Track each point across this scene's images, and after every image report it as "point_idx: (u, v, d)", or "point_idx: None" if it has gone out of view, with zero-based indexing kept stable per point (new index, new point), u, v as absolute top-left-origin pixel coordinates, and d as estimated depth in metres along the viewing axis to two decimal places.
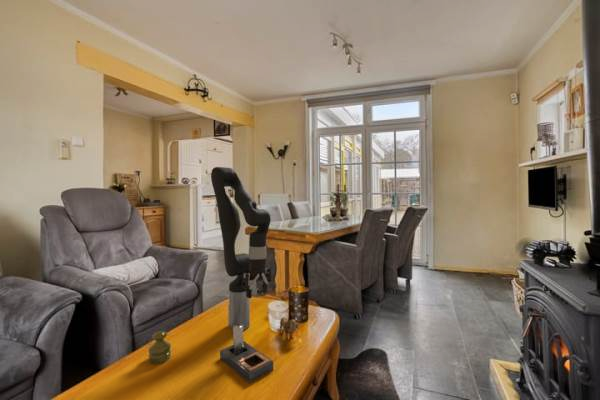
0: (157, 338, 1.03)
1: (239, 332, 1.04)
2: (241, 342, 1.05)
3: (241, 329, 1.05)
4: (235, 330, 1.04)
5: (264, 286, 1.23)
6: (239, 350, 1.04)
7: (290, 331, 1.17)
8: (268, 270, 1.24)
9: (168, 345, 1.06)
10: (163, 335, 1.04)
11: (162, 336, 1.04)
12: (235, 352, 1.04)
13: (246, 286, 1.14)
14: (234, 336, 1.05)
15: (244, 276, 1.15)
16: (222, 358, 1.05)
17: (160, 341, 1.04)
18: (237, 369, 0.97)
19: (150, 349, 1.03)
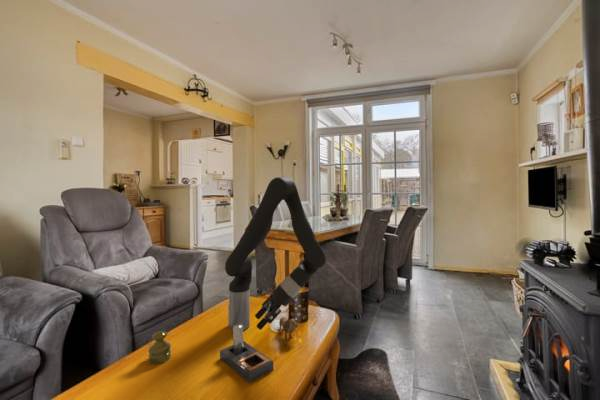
0: (157, 338, 1.03)
1: (239, 332, 1.04)
2: (241, 342, 1.05)
3: (241, 329, 1.05)
4: (235, 330, 1.04)
5: (262, 313, 1.12)
6: (239, 350, 1.04)
7: (289, 330, 1.17)
8: None
9: (168, 345, 1.06)
10: (163, 335, 1.04)
11: (162, 336, 1.04)
12: (235, 352, 1.04)
13: (271, 321, 1.02)
14: (234, 336, 1.05)
15: (277, 311, 1.02)
16: (222, 358, 1.05)
17: (160, 341, 1.04)
18: (237, 369, 0.97)
19: (150, 349, 1.03)
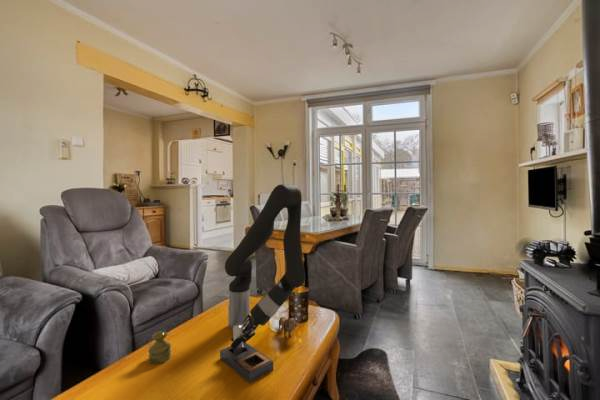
0: (157, 338, 1.03)
1: (239, 332, 1.04)
2: (241, 342, 1.05)
3: (241, 329, 1.05)
4: (235, 330, 1.04)
5: None
6: (239, 350, 1.04)
7: (289, 329, 1.18)
8: None
9: (168, 345, 1.06)
10: (163, 335, 1.04)
11: (162, 336, 1.04)
12: (235, 352, 1.04)
13: None
14: (234, 336, 1.05)
15: (250, 334, 1.00)
16: (222, 358, 1.05)
17: (160, 341, 1.04)
18: (237, 369, 0.97)
19: (150, 349, 1.03)
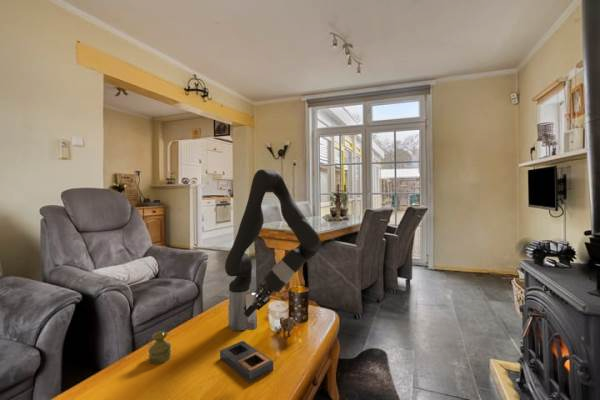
0: (157, 338, 1.03)
1: (252, 300, 0.98)
2: (255, 310, 0.99)
3: (254, 296, 0.98)
4: (248, 297, 0.98)
5: None
6: (253, 319, 0.98)
7: (288, 329, 1.19)
8: None
9: (168, 345, 1.06)
10: (163, 335, 1.04)
11: (162, 336, 1.04)
12: (248, 321, 0.98)
13: None
14: (247, 304, 0.98)
15: (264, 300, 0.94)
16: (222, 358, 1.05)
17: (160, 341, 1.04)
18: (237, 369, 0.97)
19: (150, 349, 1.03)
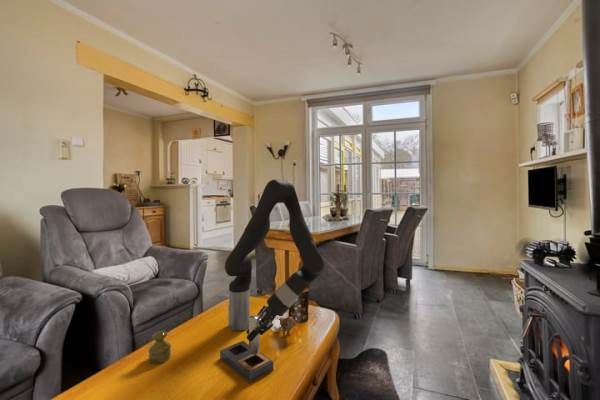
0: (157, 338, 1.03)
1: (255, 324, 0.97)
2: None
3: (257, 320, 0.97)
4: (251, 321, 0.97)
5: None
6: (255, 343, 0.97)
7: (287, 328, 1.19)
8: None
9: (168, 345, 1.06)
10: (163, 335, 1.04)
11: (162, 336, 1.04)
12: (251, 345, 0.97)
13: None
14: (250, 328, 0.97)
15: (267, 325, 0.93)
16: (222, 358, 1.05)
17: (160, 341, 1.04)
18: (237, 369, 0.97)
19: (150, 349, 1.03)
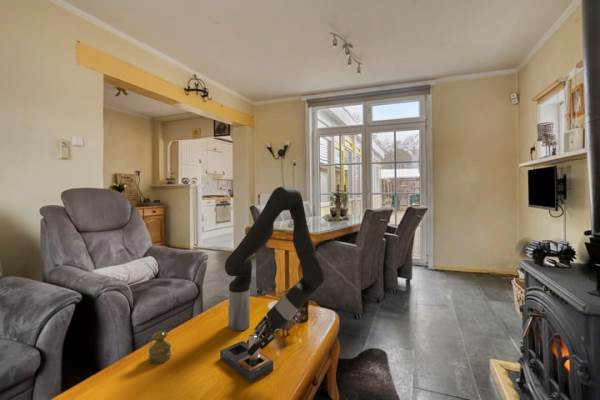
0: (157, 338, 1.03)
1: None
2: (257, 353, 0.98)
3: None
4: (251, 341, 0.97)
5: None
6: (255, 362, 0.97)
7: (287, 327, 1.20)
8: None
9: (168, 345, 1.06)
10: (163, 335, 1.04)
11: (162, 336, 1.04)
12: (251, 364, 0.97)
13: None
14: None
15: (269, 338, 0.93)
16: (222, 358, 1.05)
17: (160, 341, 1.04)
18: (237, 369, 0.97)
19: (150, 349, 1.03)
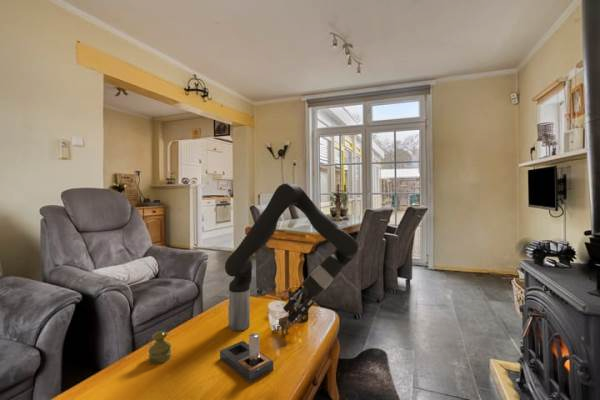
0: (157, 338, 1.03)
1: (255, 343, 0.97)
2: (257, 353, 0.98)
3: (257, 339, 0.98)
4: (251, 340, 0.97)
5: (291, 305, 1.05)
6: (255, 362, 0.97)
7: (286, 327, 1.21)
8: None
9: (168, 345, 1.06)
10: (163, 335, 1.04)
11: (162, 336, 1.04)
12: (251, 364, 0.97)
13: None
14: (250, 347, 0.98)
15: (309, 303, 0.96)
16: (222, 358, 1.05)
17: (160, 341, 1.04)
18: (237, 369, 0.97)
19: (150, 349, 1.03)
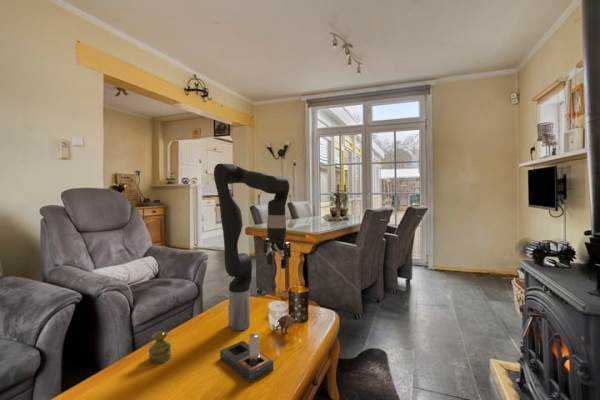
0: (157, 338, 1.03)
1: (255, 343, 0.97)
2: (257, 353, 0.98)
3: (257, 339, 0.98)
4: (251, 340, 0.97)
5: (271, 257, 1.17)
6: (255, 362, 0.97)
7: (286, 326, 1.21)
8: None
9: (168, 345, 1.06)
10: (163, 335, 1.04)
11: (162, 336, 1.04)
12: (251, 364, 0.97)
13: None
14: (250, 347, 0.98)
15: (288, 245, 1.09)
16: (222, 358, 1.05)
17: (160, 341, 1.04)
18: (237, 369, 0.97)
19: (150, 349, 1.03)
